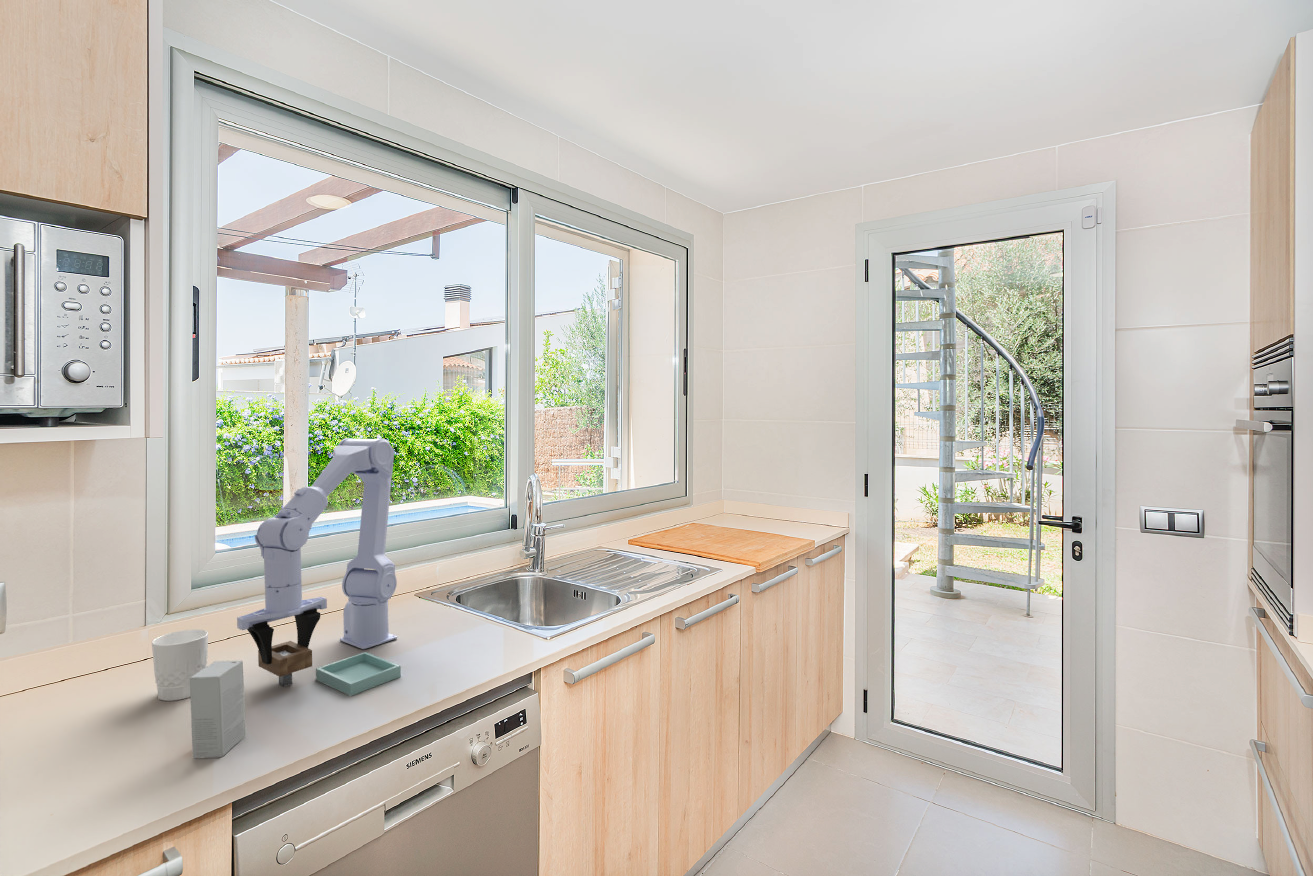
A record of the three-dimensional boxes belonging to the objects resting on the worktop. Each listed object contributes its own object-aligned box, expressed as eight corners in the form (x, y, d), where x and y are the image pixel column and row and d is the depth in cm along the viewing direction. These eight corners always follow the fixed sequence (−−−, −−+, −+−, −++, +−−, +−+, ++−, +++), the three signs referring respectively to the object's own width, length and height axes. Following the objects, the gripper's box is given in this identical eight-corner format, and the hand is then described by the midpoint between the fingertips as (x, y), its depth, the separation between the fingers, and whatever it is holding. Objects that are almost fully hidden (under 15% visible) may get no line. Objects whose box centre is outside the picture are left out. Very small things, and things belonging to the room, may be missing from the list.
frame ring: (279, 677, 108) (279, 660, 108) (258, 666, 113) (258, 650, 113) (312, 666, 113) (312, 650, 113) (290, 656, 118) (290, 640, 117)
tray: (316, 679, 115) (315, 668, 115) (365, 662, 123) (365, 652, 123) (350, 696, 108) (350, 684, 108) (400, 676, 116) (400, 665, 116)
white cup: (147, 706, 104) (146, 648, 104) (159, 688, 111) (158, 633, 111) (205, 697, 108) (203, 640, 108) (213, 679, 115) (211, 626, 115)
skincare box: (216, 737, 95) (214, 660, 94) (246, 736, 95) (244, 659, 94) (190, 759, 89) (188, 677, 88) (222, 758, 89) (219, 676, 88)
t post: (274, 683, 114) (274, 653, 113) (285, 679, 115) (284, 650, 115) (285, 688, 111) (285, 658, 111) (296, 685, 113) (295, 655, 112)
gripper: (249, 597, 104) (251, 676, 105) (334, 578, 116) (336, 649, 117) (230, 590, 108) (233, 666, 109) (315, 572, 120) (316, 641, 121)
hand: (285, 657), depth 113 cm, fingers closed on frame ring, 6 cm apart
